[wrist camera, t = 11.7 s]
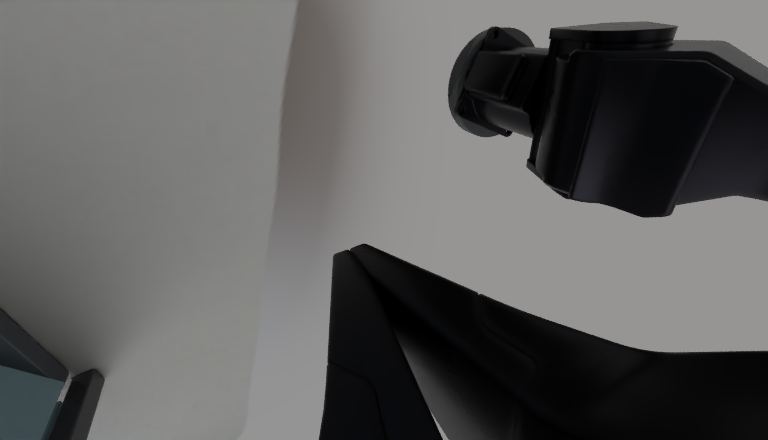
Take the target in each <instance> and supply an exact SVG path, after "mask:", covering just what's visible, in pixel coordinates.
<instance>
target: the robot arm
mask: <svg viewBox="0 0 768 440" xmlns="http://www.w3.org/2000/svg"><path fill="white" fill-rule="evenodd" d="M677 27H678V26H675V25H667V24H660V23H653V22H620V23H619V22H618V23H600V24H590V25H579V26H569V27H559V28H551V30H550V36H549V39H551V41H550V46H549V48H534V47H527V46H526V45H524V44H523V43H521V42H520V41H518V40H517V39H515V38H514V37H512V36H511V35H510V34H508V33H507V32H505V31H504V30H502V29H501V28H499V27H491V28H490V29H488V31H487V33H486V36H485V38H484V40H483V43H482V45H481V47H480V50H479V52H478V54H477V56H476V59H475V61H474V63H473V66H472V68H471V70H470V73H469V75H468V77H467V80H466V82H465V84H464V87H463V89H462V92H461V94H460V96H459V99H458V101H457V103H456V106H455V108H454V113H455V115H456V116H458V117H461V118H463V119H465V120H468V121H470V122H472V123H475V124H477V125H479V126H482V127H484V128H486V129H489V130H491V131H493V132H496V133H498V134H501V135H503V136H506V137H508V136H510V135H511V134H512V132H516V133H519V134H522V135H524V136H527V137H530V138H533V140H532V146H531V152H530V157H529V159H527V165H526V166H527V168H528V169H530V170H531V171H532V172H533V173H534V174H535V175H536V176H538V177H539V178H540V179H541V180H542V181H543V182H544V183H545V184H546V185H547V186H549V187H550V188H551V189H553V190H554V191H555V192H556V193H558V194H559V195H561V196H562V197H564V198H566V199H572V200H576V201H580V202H588V203H600V204H604V205H608V206H611V207H615V208H617V209H620V210H623V211H626V212H629V213H631V214H634V215H637V216H640V217H665V216H669V215H671V214H672V212H673V210H674V208H675V206H676V205H680V204H686V203H692V202H698V201H704V200H710V199H716V198H722V197H728V196H743V197H749V198H754V199H759V200H764V201H768V68H767V67H766V66H764V65H763V64H761V63H759V62H758V61H756V60H755V59H753V58H751V57H750V56H748V55H747V54H745V53H743V52H742V51H740V50H739V49H737V48H736V47H734V46H733V45H731V44H730V43H727V42H725V41H700V40H699V41H698V40H697V41H696V40H673V39H674V36H675V33H676V31H677ZM494 32H495V35H494V37H493V33H494ZM461 108H462V111H461V112H460V109H461ZM506 130H507V132H506ZM331 289H332V290H331V306H330V324H329V343H328V344H329V345H328V365H327V375H326V390H325V400H324V411H323V417H322V423H321V429H320V436H319V440H443V439H442V437H441V434H440V432H439V430H438V428H437V425H436V423H435V421H434V419H433V417H432V414H433V415H434V417H435V418H436V420H437V422H438V423H439V425H440V427H441V428H442V430H443V431H444V433H445V434H446V436H447V438H448V439H449V440H768V351H736V352H735V351H734V352H733V351H730V352H677V353H674V352H671V353H670V352H654V351H648V350H642V349H637V348H632V347H628V346H624V345H621V344H618V343H614V342H612V341H609V340H606V339H603V338H600V337H597V336H594V335H590V334H587V333H585V332H582V331H579V330H576V329H573V328H570V327H567V326H564V325H561V324H558V323H555V322H552V321H549V320H546V319H543V318H541V317H538V316H535V315H532V314H529V313H527V312H524V311H521V310H519V309H516V308H514V307H511V306H509V305H506V304H503V303H501V302H499V301H496V300H494V299H492V298H490V297H487V296H485V295H483V294H479V295H478V293H477V292H475V291H473V290H471V289H469V288H466V287H464V286H462V285H459V284H457V283H455V282H452V281H450V280H448V279H446V278H443V277H441V276H439V275H436V274H434V273H432V272H429V271H427V270H425V269H422V268H420V267H418V266H416V265H413V264H411V263H409V262H407V261H404V260H402V259H399V258H397V257H395V256H393V255H390V254H388V253H386V252H384V251H381V250H379V249H377V248H374V247H372V246H370V245H367V244H361V245H358V246H356V247H353V248H351V249H350V251H349V250H345V251H342V252H339V253H336V254H334V256H333V268H332V288H331ZM429 409H430V410H429ZM430 411H431V412H432V414H431V412H430Z"/></svg>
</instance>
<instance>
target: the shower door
mask: <svg viewBox="0 0 768 440" xmlns="http://www.w3.org/2000/svg"><path fill="white" fill-rule="evenodd" d="M63 385H64V382H62V381H58V380H54V379H50V378H46V377H43V376H39V375H35V374H31V373H28V372H24V371H20V370H16V369H12V368H9V367H5V366H1V365H0V440H41V438H42V436H43V433H44V431H45V428H46V426H47V424H48V421H49V419H50V416H51V414H52V412H53V409H54V407H55V404H56V402H57V400H58V397H59V395H60V393H61V390H62V388H63Z"/></svg>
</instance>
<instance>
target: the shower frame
mask: <svg viewBox="0 0 768 440" xmlns="http://www.w3.org/2000/svg"><path fill="white" fill-rule="evenodd" d="M0 365H1V366H5V367H9V368H12V369H16V370H20V371H24V372H28V373H31V374H35V375H39V376H43V377H46V378H50V379H54V380H58V381H62V382H64V384H65V382H66V379H67V377H68V374H69V372H68V371H67V370H66V369H65V368H64V367H63V366H61V365H60V364H59V363H58V362H57V361H56V360H55V359H54V358H53V357H52V356H51V355H50V354H48V353H47V352H46V351H45V350H44V349H43V348H42V347H41V346H40V345H39V344H38V343H37V342H35V341H34V340H33V339H32V338H31V337H30V336H29V335H28V334H27V333H26V332H25V331H24V330H22V329H21V328H20V327H19V326H18V325H17V324H16V323H15V322H14V321H13V320H12V319H11V318H9V317H8V316H7V315H6V314H5V313H4V312H3V311H2V310H1V309H0ZM104 381H105V379H104V378H103V377H102V376H101V375H100V374H99V373H98V372H97V371H96V370H91V371H88V372H86V373H83V374H80V375H78V376H75V377H73V378H72V381H71V383H70V386H69V388H68V391H67V393H66V396H65V398H64V401H63V403H62V402H61V401H58V402H56V404H55V407H54V409H53V412H52V414H51V416H50V419H49V421H48V424H47V426H46V428H45V431H44V433H43V436H42V438H41V440H87V437H88V434H89V430H90V427H91V424H92V421H93V417H94V414H95V411H96V407H97V404H98V401H99V398H100V394H101V391H102V388H103V385H104ZM63 386H64V385H63Z"/></svg>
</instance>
